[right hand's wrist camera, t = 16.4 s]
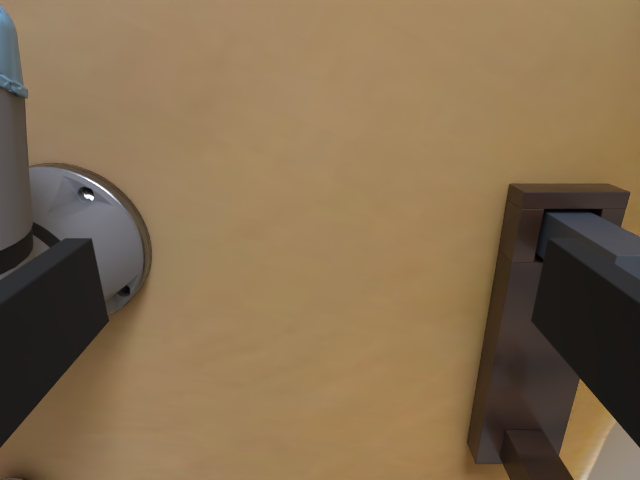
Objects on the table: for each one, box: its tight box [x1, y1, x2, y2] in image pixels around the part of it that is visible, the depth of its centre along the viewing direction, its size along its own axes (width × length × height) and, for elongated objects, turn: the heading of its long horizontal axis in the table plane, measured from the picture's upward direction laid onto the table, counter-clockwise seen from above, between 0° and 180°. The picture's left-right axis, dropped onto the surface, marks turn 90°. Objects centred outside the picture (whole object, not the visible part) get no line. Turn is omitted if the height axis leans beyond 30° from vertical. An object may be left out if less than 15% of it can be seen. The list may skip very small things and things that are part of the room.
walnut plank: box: [467, 184, 630, 480], centre depth 40 cm, size 31×9×10 cm, turn 0°
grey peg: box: [536, 209, 640, 280], centre depth 35 cm, size 4×4×12 cm
